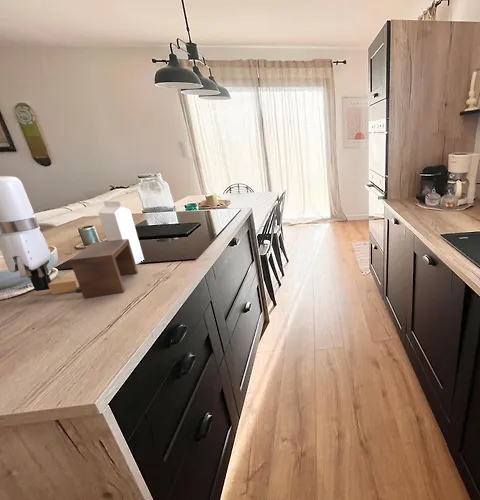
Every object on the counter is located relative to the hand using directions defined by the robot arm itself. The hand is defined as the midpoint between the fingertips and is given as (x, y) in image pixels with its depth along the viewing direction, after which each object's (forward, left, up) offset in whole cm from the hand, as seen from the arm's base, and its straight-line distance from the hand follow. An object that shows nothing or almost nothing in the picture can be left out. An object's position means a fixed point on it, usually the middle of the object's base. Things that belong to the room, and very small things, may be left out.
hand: (44, 288), depth 80 cm
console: (+15, 0, -2) cm, 16 cm away
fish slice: (+8, 0, -2) cm, 8 cm away
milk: (+15, +17, -2) cm, 23 cm away
